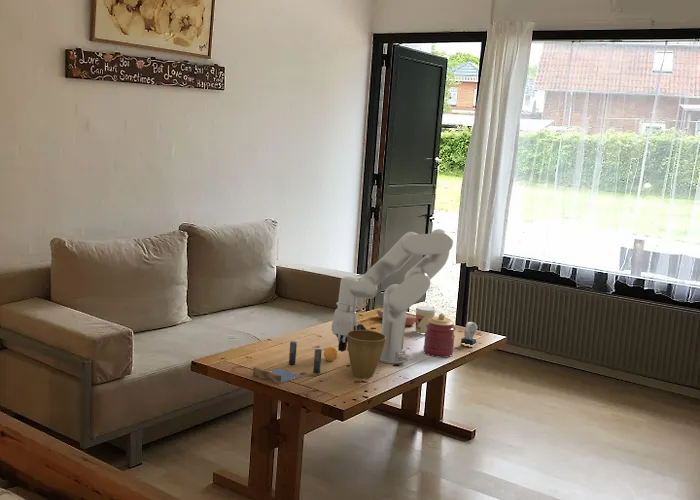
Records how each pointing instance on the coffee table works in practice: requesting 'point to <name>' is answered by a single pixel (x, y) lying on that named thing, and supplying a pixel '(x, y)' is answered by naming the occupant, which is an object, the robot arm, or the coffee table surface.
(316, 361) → the post
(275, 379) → the backstop
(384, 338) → the plant pot
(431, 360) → the coffee table surface
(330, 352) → the ball
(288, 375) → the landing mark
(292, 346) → the post
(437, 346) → the canister
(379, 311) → the anatomical model
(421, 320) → the coffee cup
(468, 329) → the grey upright piece
